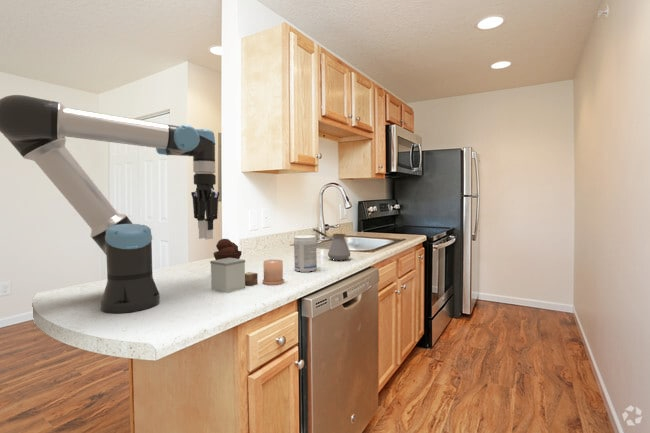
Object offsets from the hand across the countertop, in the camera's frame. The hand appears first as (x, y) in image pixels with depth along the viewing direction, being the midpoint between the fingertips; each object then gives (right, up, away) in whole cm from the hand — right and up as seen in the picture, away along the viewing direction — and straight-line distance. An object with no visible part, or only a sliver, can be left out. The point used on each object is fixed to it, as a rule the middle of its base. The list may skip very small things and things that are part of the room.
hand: (206, 238), depth 130 cm
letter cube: (+16, -17, -1) cm, 23 cm away
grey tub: (+10, -17, -6) cm, 21 cm away
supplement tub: (+35, -15, +24) cm, 45 cm away
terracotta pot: (+24, -16, +2) cm, 29 cm away
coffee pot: (+46, -14, +52) cm, 70 cm away
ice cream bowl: (+4, -16, +14) cm, 22 cm away
